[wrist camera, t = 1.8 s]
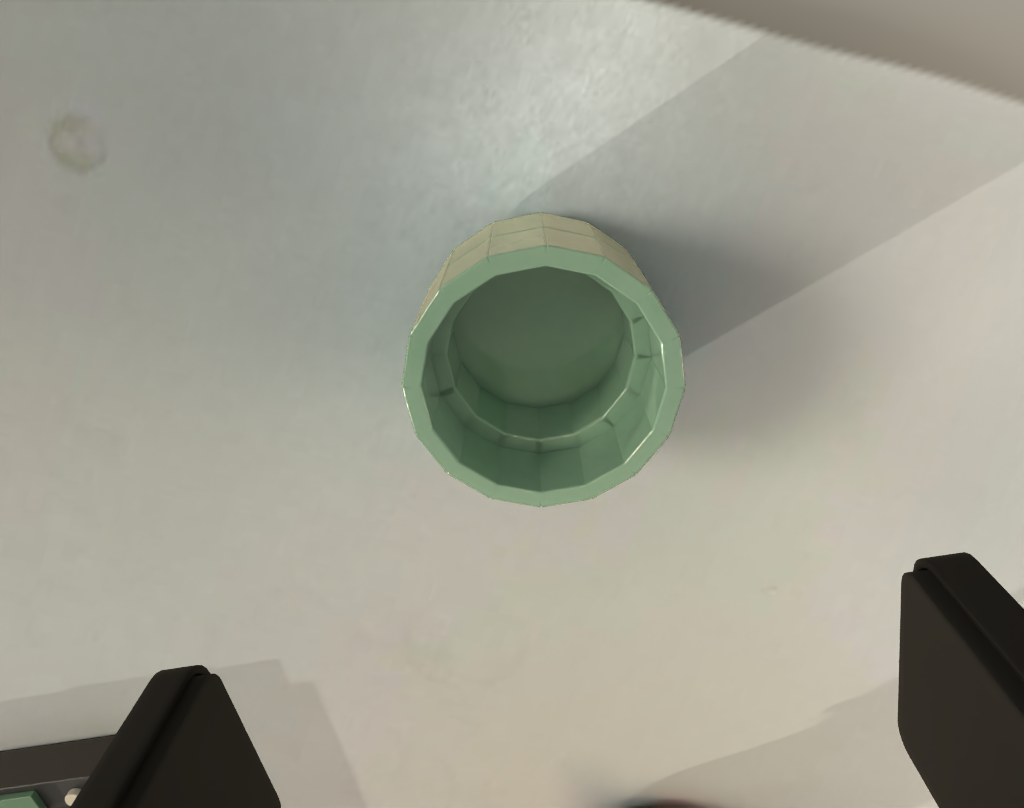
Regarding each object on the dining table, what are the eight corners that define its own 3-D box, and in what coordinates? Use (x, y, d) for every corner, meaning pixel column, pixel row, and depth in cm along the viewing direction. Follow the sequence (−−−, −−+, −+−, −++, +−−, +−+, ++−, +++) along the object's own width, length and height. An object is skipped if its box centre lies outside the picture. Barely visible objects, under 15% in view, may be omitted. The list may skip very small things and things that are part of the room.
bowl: (401, 235, 21) (370, 279, 17) (635, 189, 21) (668, 221, 16) (454, 440, 24) (440, 524, 19) (661, 404, 23) (695, 483, 19)
